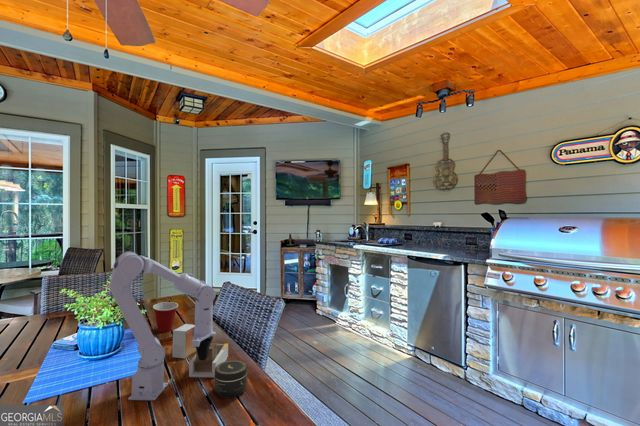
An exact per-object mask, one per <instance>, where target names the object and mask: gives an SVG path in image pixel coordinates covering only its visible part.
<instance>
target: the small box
mask: <svg viewBox="0 0 640 426" xmlns="http://www.w3.org/2000/svg"><path fill="white" fill-rule="evenodd" d="M194 333H195V324H190V323H184V324H183V325H181V326H179V327H178V328H175V329H172V354H171V355H172V358H175V359H176V358H177V359H187V358H188V357H189V356H191V355H192V354H194V353H196V347H193V340H194Z"/></svg>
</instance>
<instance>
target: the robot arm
mask: <svg viewBox="0 0 640 426" xmlns="http://www.w3.org/2000/svg"><path fill="white" fill-rule="evenodd" d="M112 266H113V267H112V272H111V277H110V282H109V285H108V286H109V291H110V293H111V295H112V297H113V298H114V300H115V303H116V304H117V306H118V308H119V310H120V312H121V313H122V315H123V317H124V320H125V321H126V324H127V325H128V328H129V329H130V331H131V333H132V336H133V337H134V339H135V340H136V343H137V345H138V347H137V351H138V353H139V355H140V358H139V360H138V362H137V368H136V372H135V373H134V374H133V376H132V378H131V395H130V396H129V397H128V399H127V400H128V401H156V399H158V398H159V396H160V395H161V394H162V393H163V392H164V390H165V389H166V388H167V387H168V385H169V382H164V373H165V372H164V367H165V357H166V350H165V348H164V347H163V346H162V344H161V341H160V340H159V338H157V337H156V336H154V335H153V333H152V331H151V329H150V326H149V325H148V323H147V321H146V319H145V316H144V315H143V313H142V310H141V309H140V308H139V306H138V303H137V301H136V300H135V298H134V295H133V293H132V291H131V289H130V287H131V286H132V283H133V282H134V279H135V278H137V277H138V276H139V275H141V274H140V273H142V275H147V274H153V275H156V276H157V277H160V278H162V279H164V280H166V281H169V282H170V283H172V284H173V285H174V289H175V290H177V291H180V292H181V293H183V294H185V295H187V296H189V297H192V298H194V299H195V306H194V325H195V333H194V340H193V347H196V350H197V353H198V357H199V360H206V358H207V355H208V350H209V347H210V344H211V343H212V341H213V339H214V336H216V334H217V333H216V331H213V330H214V325H213V318H214V317H213V309H214V305H213V304H214V300H215V299H216V295H217V294H216V292H215V290H214V287H212V286H210V285H209V284H207V283H206V282H205V280H202V279H201V280H200V279H197V278H196V277H194V275H193V273H190V272H188V273H186V272H183V273H178V272H175V271H173V270H172V269H170V268H168V267H166V266H165V265H163V264H162V263H159V262H158V261H157V260H154V259H152V258H149V257H146V256H144V255H139V254H137V253H136V252H134V251H124V252H122V253H121V254H120V255H119V256H118V257H117V259H116V260H115V262H114V263H113V265H112Z"/></svg>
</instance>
